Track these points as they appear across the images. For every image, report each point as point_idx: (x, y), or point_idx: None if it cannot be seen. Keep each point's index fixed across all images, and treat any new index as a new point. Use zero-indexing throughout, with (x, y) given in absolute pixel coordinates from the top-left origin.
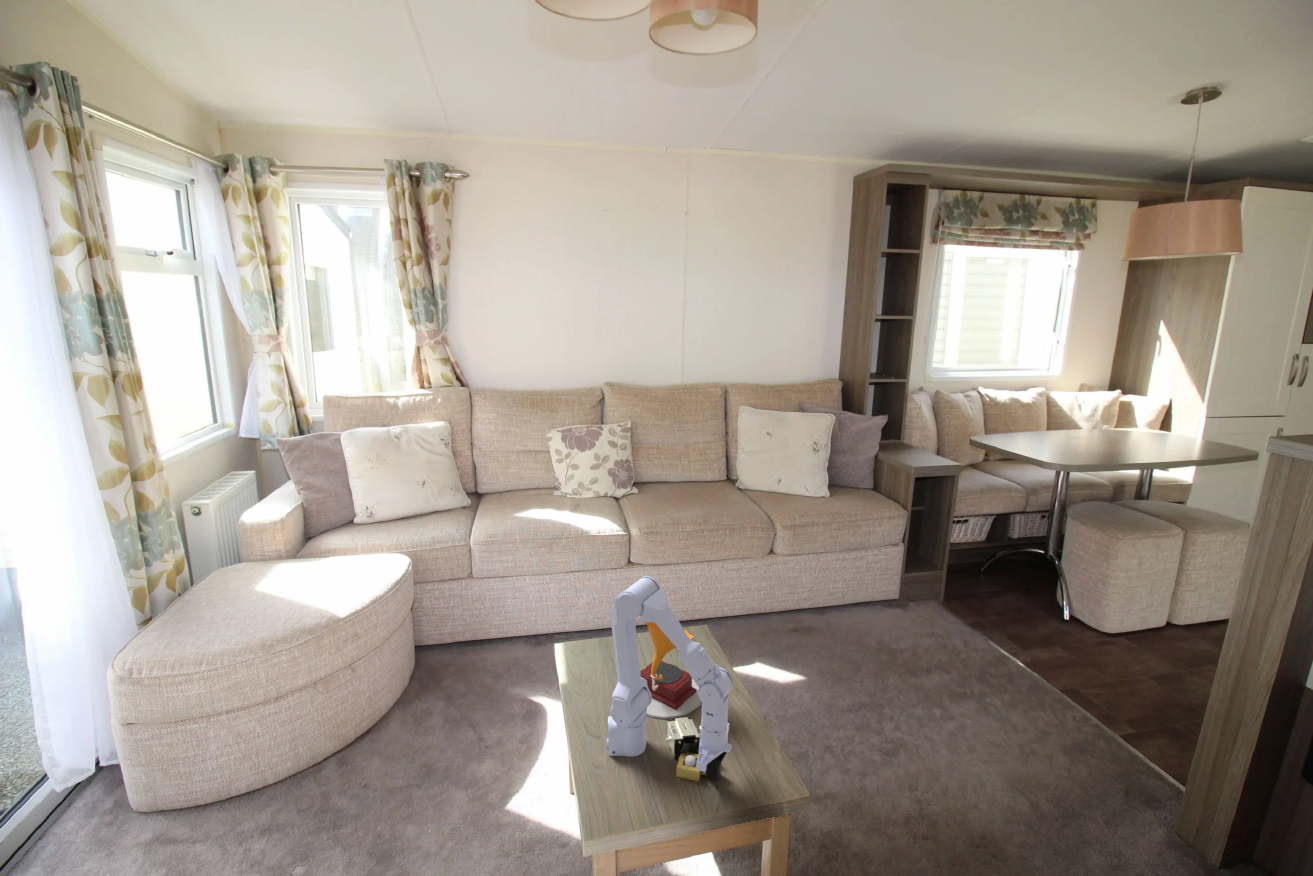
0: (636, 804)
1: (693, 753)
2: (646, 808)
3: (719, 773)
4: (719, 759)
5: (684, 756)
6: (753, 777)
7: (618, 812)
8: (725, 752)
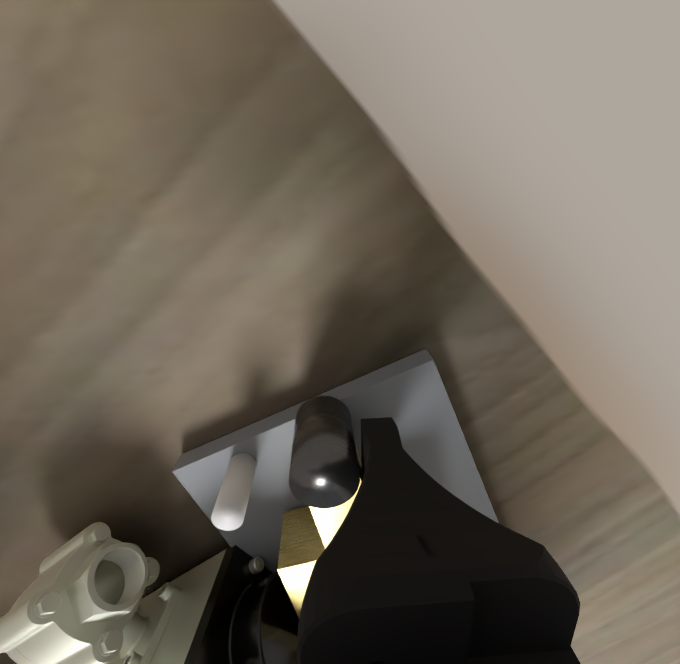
0: (607, 601)
1: (284, 608)
2: (615, 568)
3: (342, 424)
4: (565, 605)
5: None
6: (160, 217)
7: (661, 625)
8: (407, 608)
